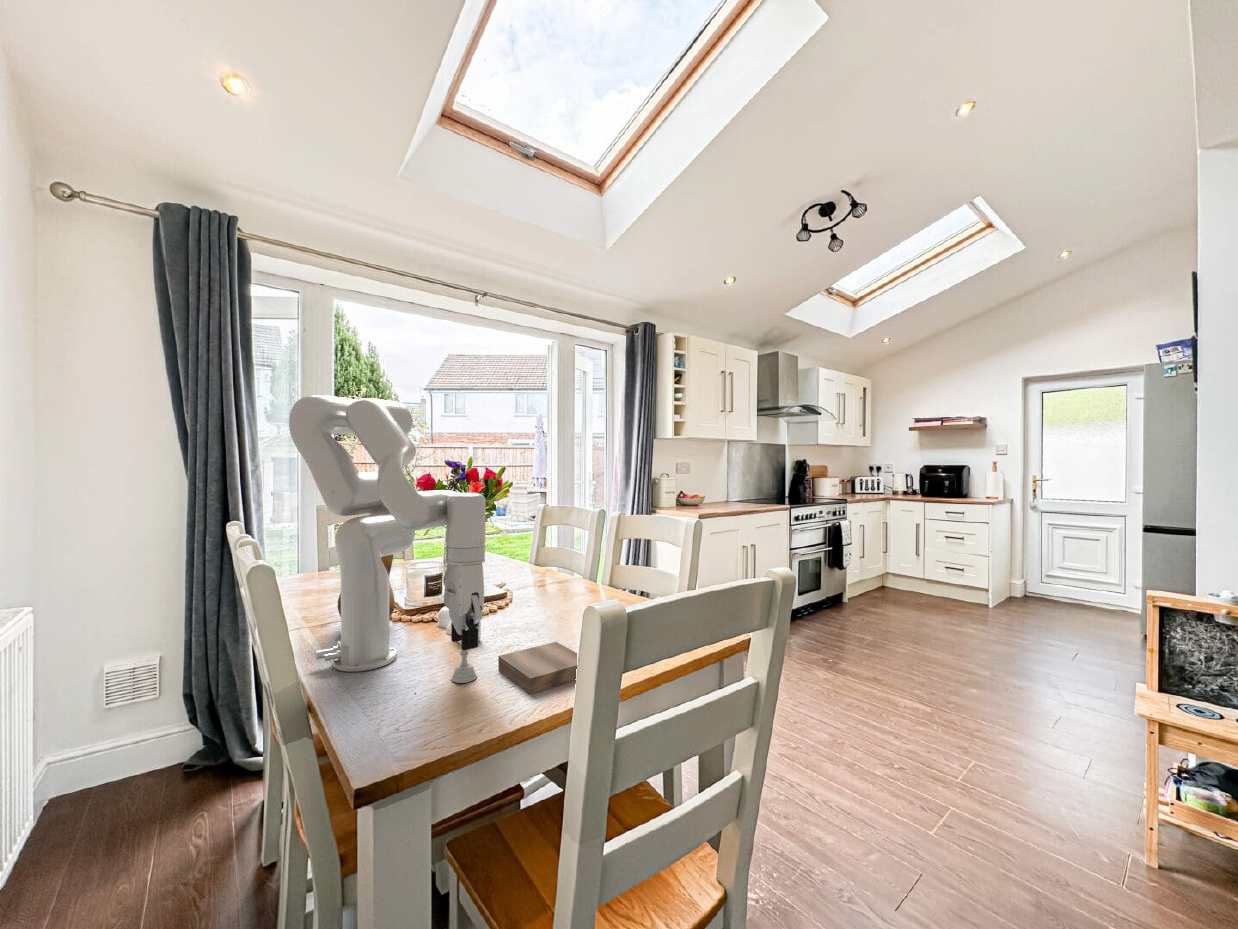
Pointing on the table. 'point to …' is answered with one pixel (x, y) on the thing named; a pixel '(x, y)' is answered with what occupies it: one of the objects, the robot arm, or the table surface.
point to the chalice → (463, 670)
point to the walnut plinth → (540, 667)
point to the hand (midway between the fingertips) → (464, 643)
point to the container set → (450, 622)
